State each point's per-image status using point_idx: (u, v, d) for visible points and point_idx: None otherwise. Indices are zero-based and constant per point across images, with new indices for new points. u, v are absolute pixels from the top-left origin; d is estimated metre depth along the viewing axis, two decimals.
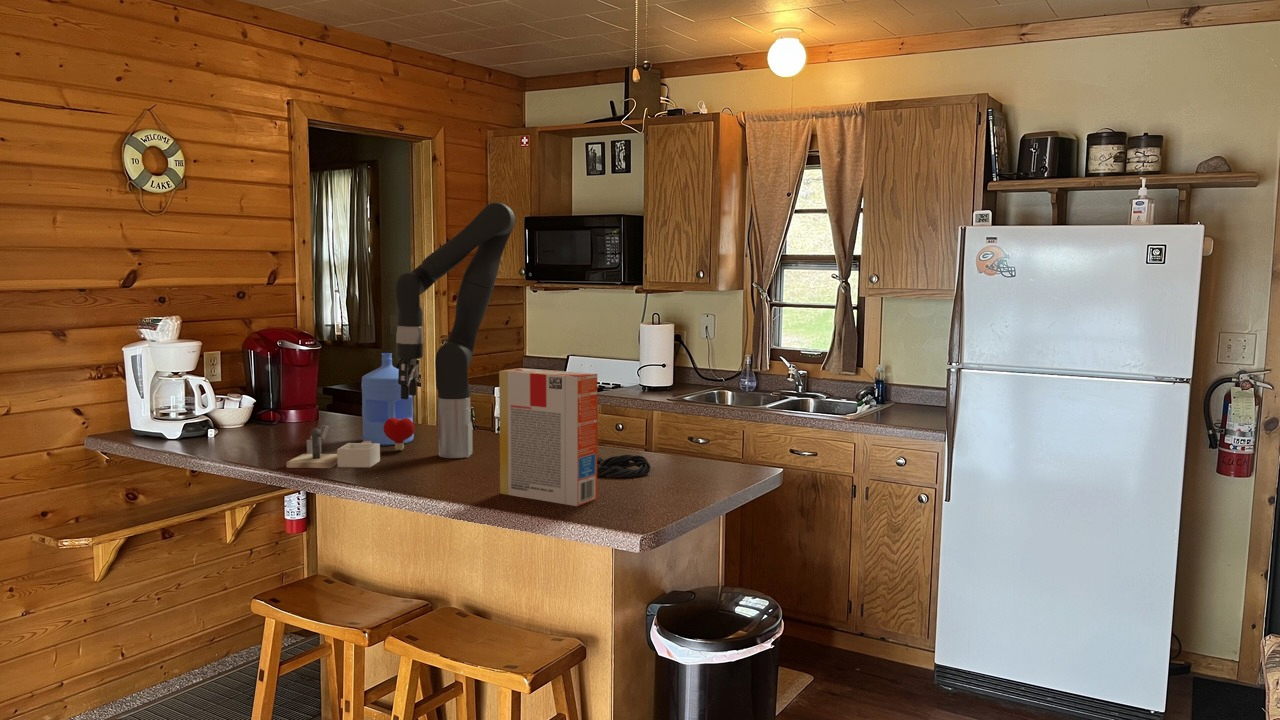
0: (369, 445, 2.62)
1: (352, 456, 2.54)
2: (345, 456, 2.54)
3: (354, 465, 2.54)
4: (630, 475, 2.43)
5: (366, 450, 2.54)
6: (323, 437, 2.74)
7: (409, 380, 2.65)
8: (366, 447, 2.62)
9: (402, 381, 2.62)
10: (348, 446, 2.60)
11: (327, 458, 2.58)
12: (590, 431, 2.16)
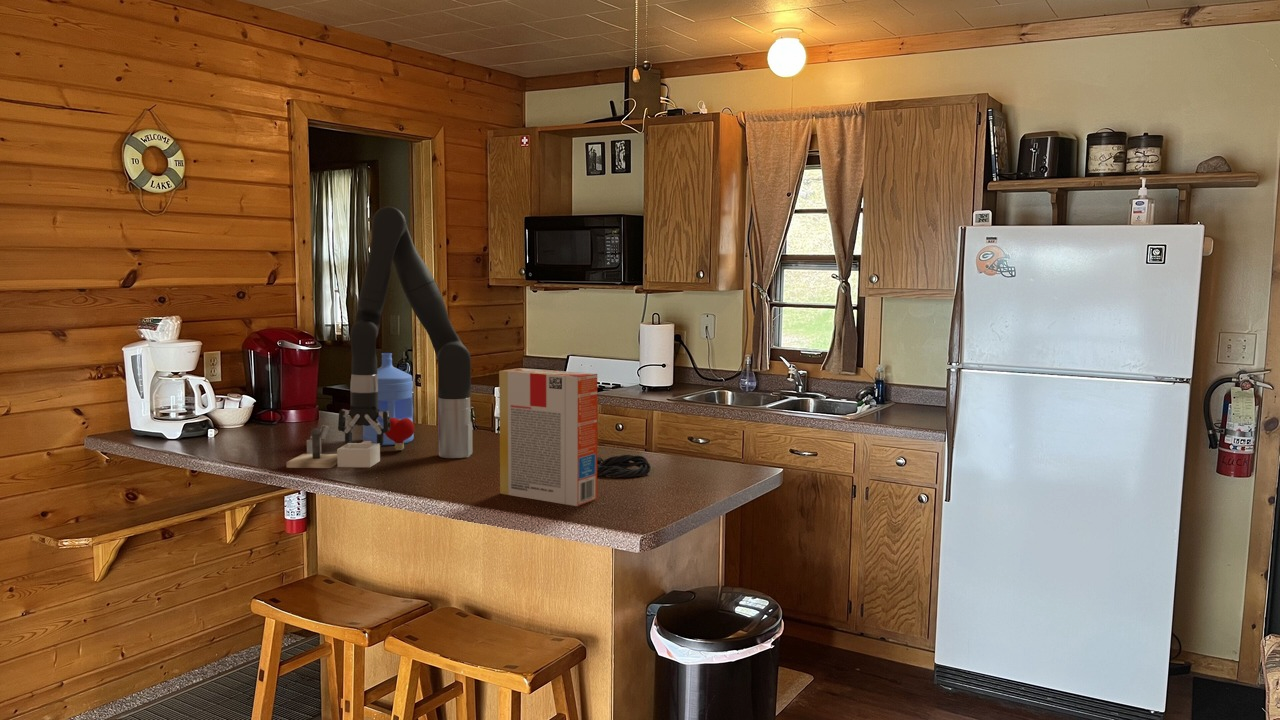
0: (369, 445, 2.62)
1: (352, 456, 2.54)
2: (345, 456, 2.54)
3: (354, 465, 2.54)
4: (630, 475, 2.43)
5: (366, 450, 2.54)
6: (323, 437, 2.74)
7: None
8: (366, 447, 2.62)
9: (388, 428, 2.64)
10: (348, 446, 2.60)
11: (327, 458, 2.58)
12: (590, 431, 2.16)
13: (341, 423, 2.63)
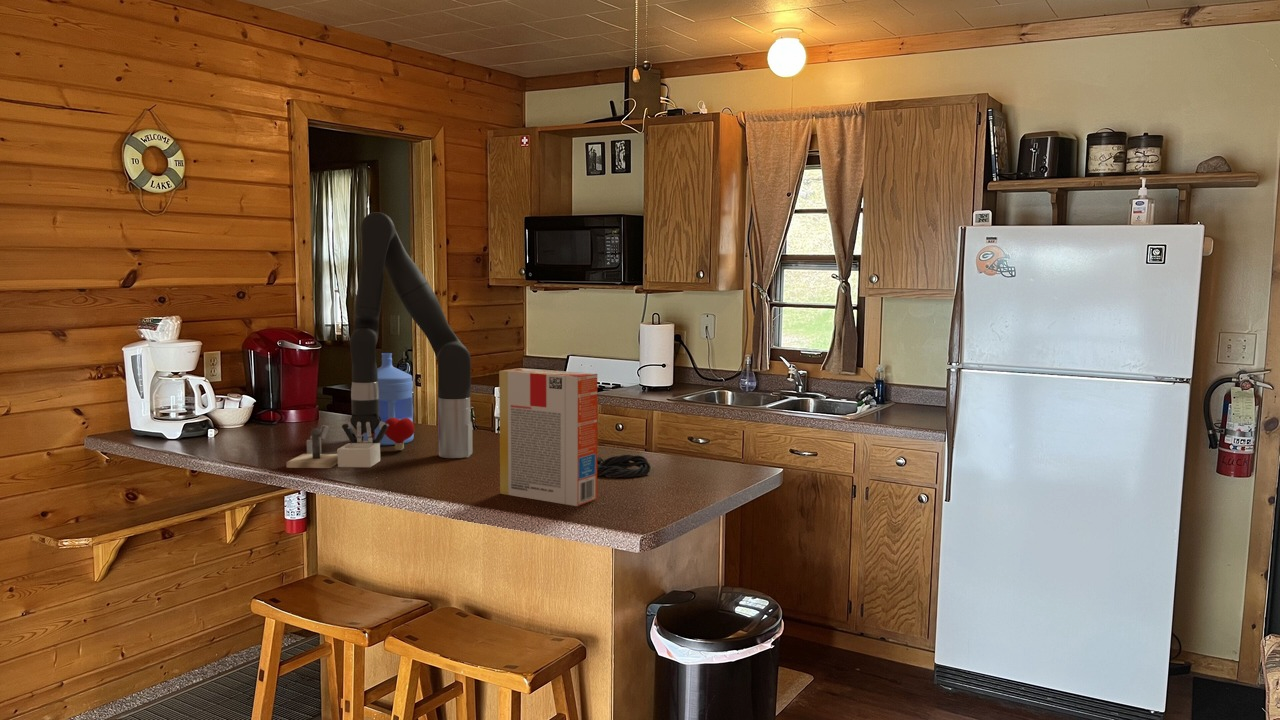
0: (369, 445, 2.62)
1: (352, 456, 2.54)
2: (345, 456, 2.54)
3: (354, 465, 2.54)
4: (630, 475, 2.43)
5: (366, 450, 2.54)
6: (323, 437, 2.74)
7: (373, 437, 2.66)
8: (366, 447, 2.62)
9: None
10: (348, 446, 2.60)
11: (327, 458, 2.58)
12: (590, 431, 2.16)
13: (350, 435, 2.63)
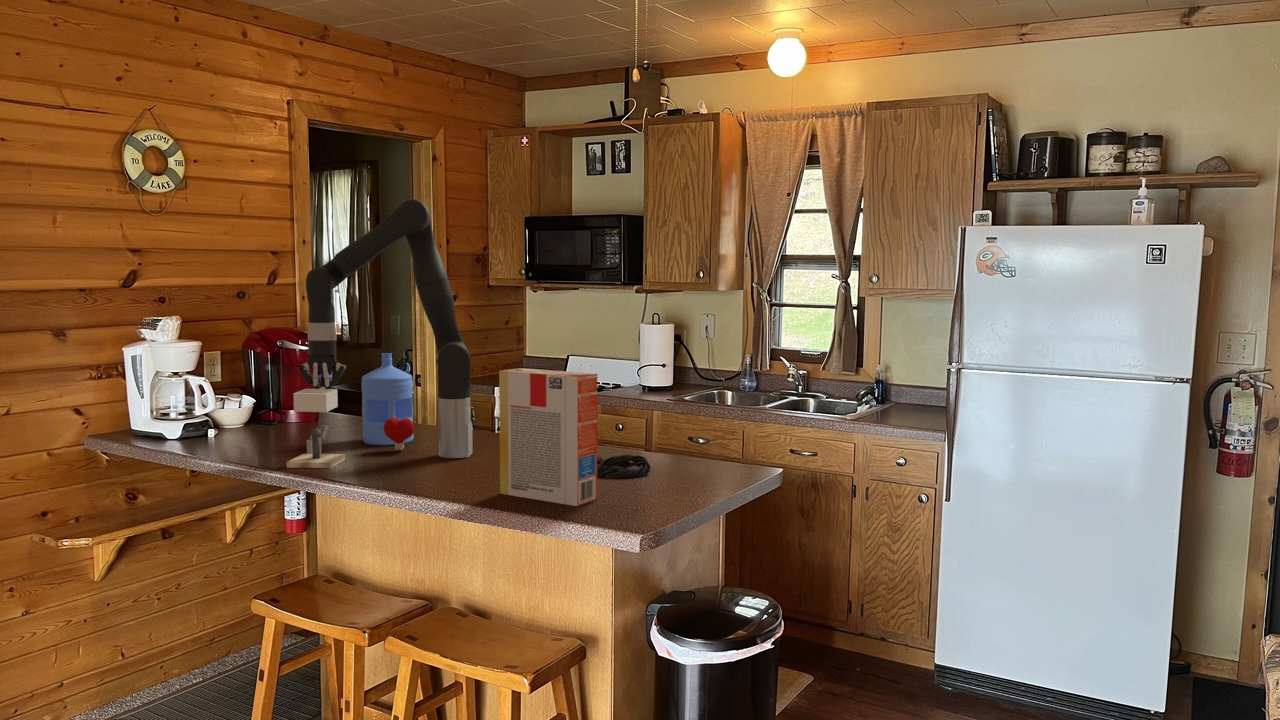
0: (327, 391, 2.61)
1: (308, 401, 2.53)
2: (301, 401, 2.54)
3: (310, 410, 2.54)
4: (630, 475, 2.43)
5: (322, 395, 2.53)
6: (323, 437, 2.74)
7: (330, 379, 2.64)
8: (324, 393, 2.61)
9: None
10: (305, 391, 2.60)
11: (327, 458, 2.58)
12: (590, 431, 2.16)
13: (307, 376, 2.62)
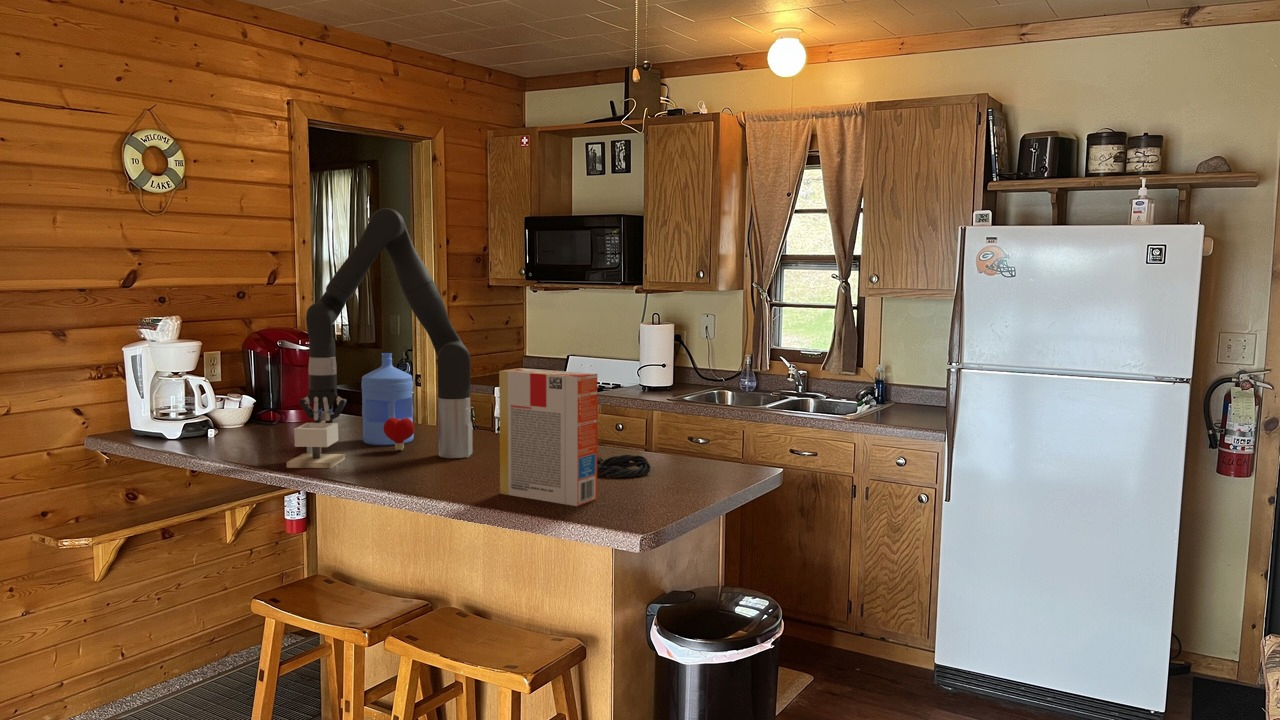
0: (327, 425, 2.62)
1: (309, 436, 2.54)
2: (302, 436, 2.54)
3: (311, 445, 2.55)
4: (630, 475, 2.43)
5: (323, 430, 2.54)
6: None
7: None
8: (324, 427, 2.62)
9: None
10: (306, 426, 2.61)
11: (327, 458, 2.58)
12: (590, 431, 2.16)
13: (307, 410, 2.63)
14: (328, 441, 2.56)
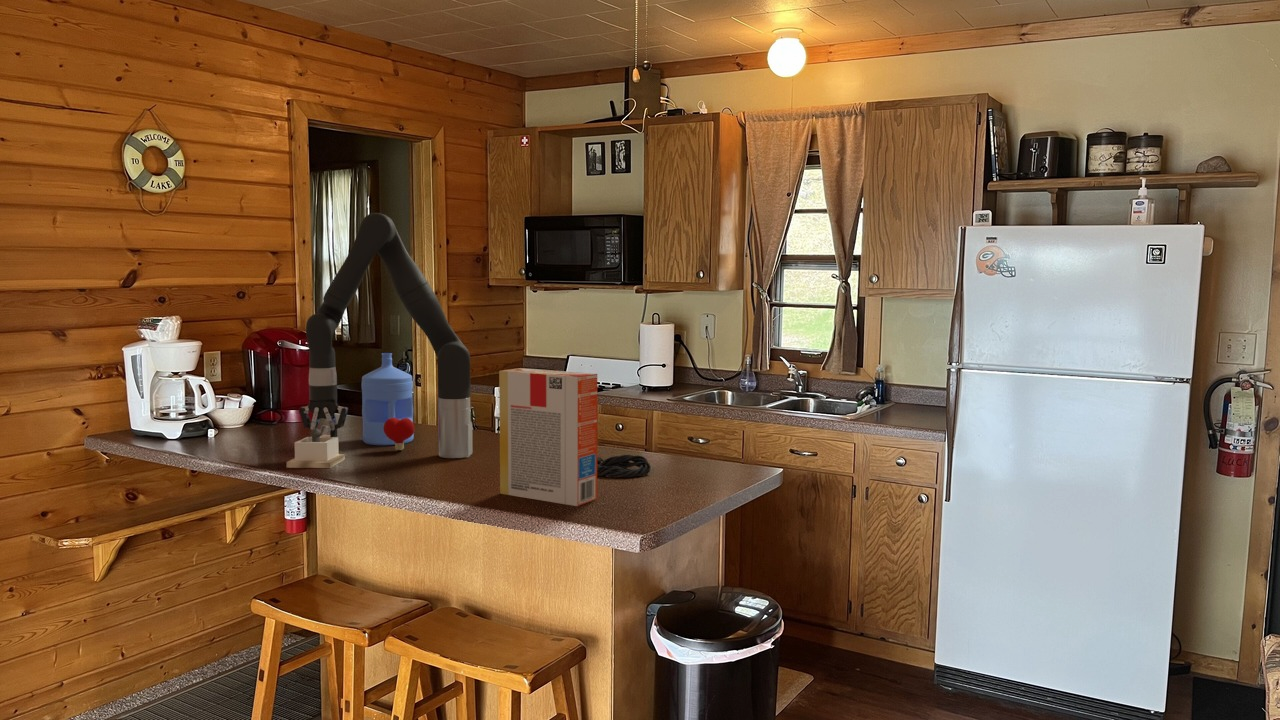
0: (327, 439, 2.63)
1: (309, 450, 2.55)
2: (302, 450, 2.55)
3: (311, 458, 2.55)
4: (630, 475, 2.43)
5: (323, 444, 2.55)
6: None
7: None
8: (324, 441, 2.63)
9: (341, 424, 2.64)
10: (306, 440, 2.61)
11: None
12: (590, 431, 2.16)
13: (305, 420, 2.63)
14: (328, 455, 2.56)
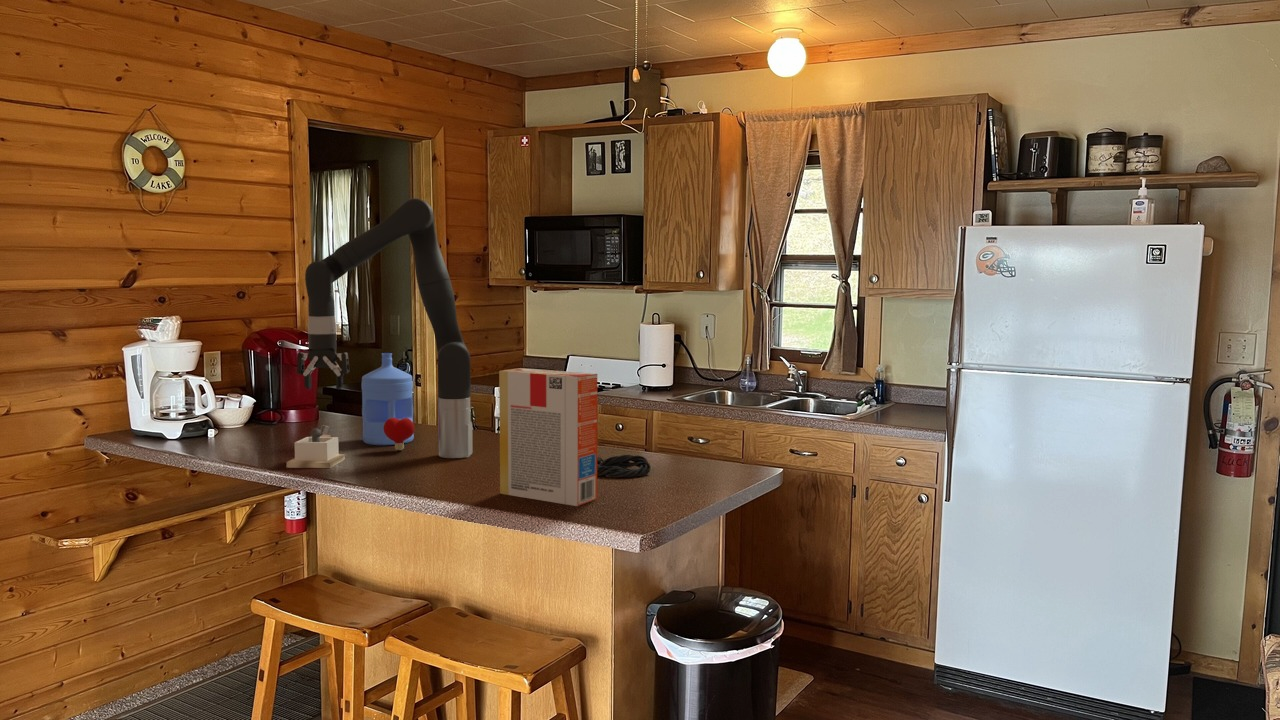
0: (327, 439, 2.63)
1: (309, 450, 2.55)
2: (302, 450, 2.55)
3: (311, 458, 2.55)
4: (630, 475, 2.43)
5: (323, 444, 2.55)
6: None
7: (339, 369, 2.64)
8: (324, 441, 2.63)
9: (347, 370, 2.63)
10: (306, 440, 2.61)
11: None
12: (590, 431, 2.16)
13: (300, 366, 2.62)
14: (328, 455, 2.56)
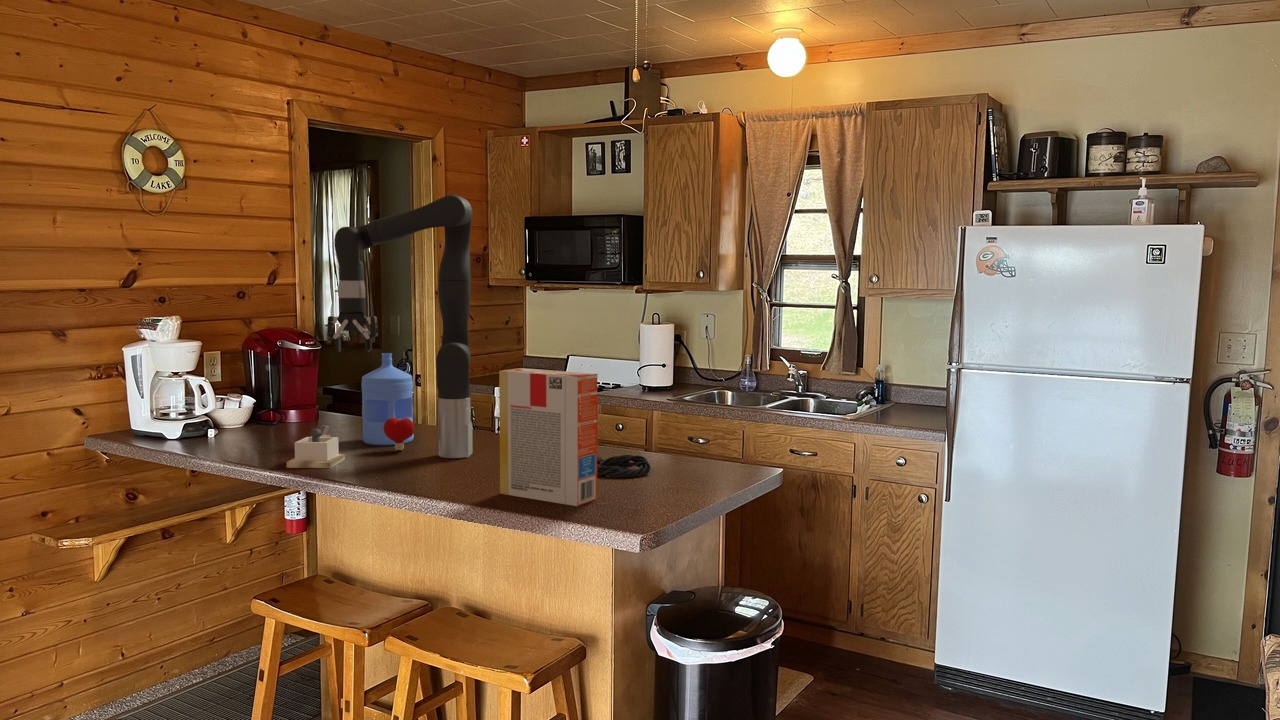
0: (327, 439, 2.63)
1: (309, 450, 2.55)
2: (302, 450, 2.55)
3: (311, 458, 2.55)
4: (630, 475, 2.43)
5: (323, 444, 2.55)
6: None
7: (368, 333, 2.71)
8: (324, 441, 2.63)
9: (376, 333, 2.70)
10: (306, 440, 2.61)
11: None
12: (590, 431, 2.16)
13: (330, 329, 2.69)
14: (328, 455, 2.56)
